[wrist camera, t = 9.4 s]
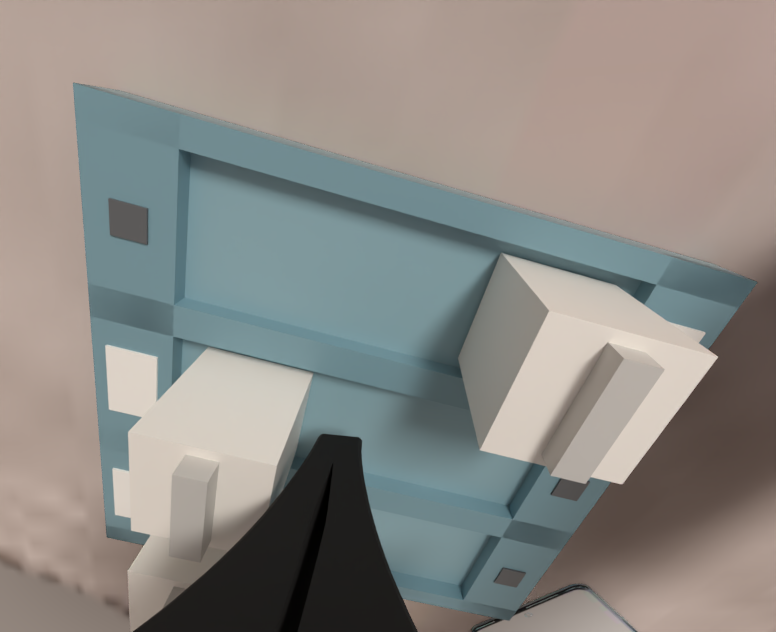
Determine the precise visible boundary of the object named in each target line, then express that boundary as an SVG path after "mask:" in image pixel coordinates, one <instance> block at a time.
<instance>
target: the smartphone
mask: <svg viewBox="0 0 776 632" xmlns="http://www.w3.org/2000/svg"><path fill="white" fill-rule="evenodd" d="M472 632H637V631H636V630H635V629H634V628H633V627H632V626H631V625H630V624H629V623H628V622H627V621H626V620H625V619H624V618H623V617H621V616H620V615H619V613H618V612H617V611H615V610H614V609H613V608H612V607H611V606H610V605H608V604H607V603H606V602H605V601H604V600H603V599H602V598H601V597H600V596H599V595H598V594H596V593H595V592H594V591H593V590H592V589H591V588H590V587H588V586H587V585H584V584H573V585H569V586H567V587H565V588H562V589H560V590H558V591H555V592H553V593H550V594H548V595H546V596H543V597H541V598H539V599H536V600H534V601H532V602H529V603H527V604H524V605H522V606H520V607H519V609H518V610H517V611H516V613H515V614H514V615H513V617H512V618H511V619H510V621H507V620H502V619H497V618H491V619H489V620H487V621H484V622H482V623H480V624H477V625H475V626H474V627H473V628H472Z"/></svg>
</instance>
